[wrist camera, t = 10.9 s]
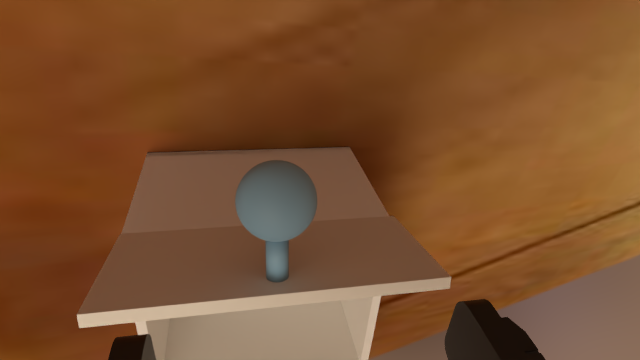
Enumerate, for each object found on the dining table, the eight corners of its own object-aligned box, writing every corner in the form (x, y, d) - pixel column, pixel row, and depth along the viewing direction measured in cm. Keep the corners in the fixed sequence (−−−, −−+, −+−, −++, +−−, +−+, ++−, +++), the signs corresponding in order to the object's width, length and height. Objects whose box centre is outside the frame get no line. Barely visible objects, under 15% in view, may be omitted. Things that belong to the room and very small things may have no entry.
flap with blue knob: (392, 224, 25) (400, 129, 24) (452, 292, 19) (471, 166, 17) (121, 243, 22) (106, 135, 20) (76, 333, 16) (48, 183, 14)
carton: (349, 146, 35) (395, 226, 26) (334, 270, 42) (366, 367, 33) (147, 152, 32) (117, 246, 23) (168, 285, 39) (152, 397, 30)
